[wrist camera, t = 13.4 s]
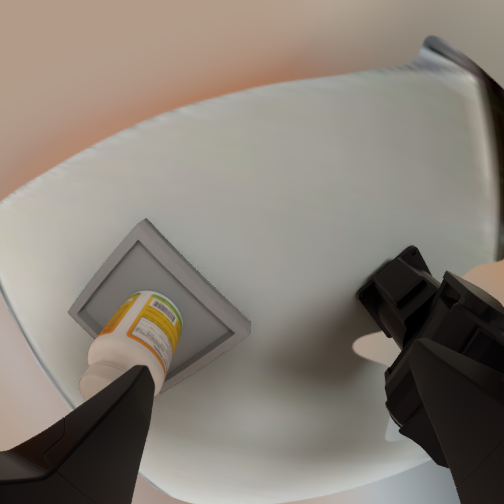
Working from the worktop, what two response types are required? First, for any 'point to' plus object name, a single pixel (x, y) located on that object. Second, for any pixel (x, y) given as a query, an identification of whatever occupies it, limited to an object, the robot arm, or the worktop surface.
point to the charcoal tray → (170, 285)
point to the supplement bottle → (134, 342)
